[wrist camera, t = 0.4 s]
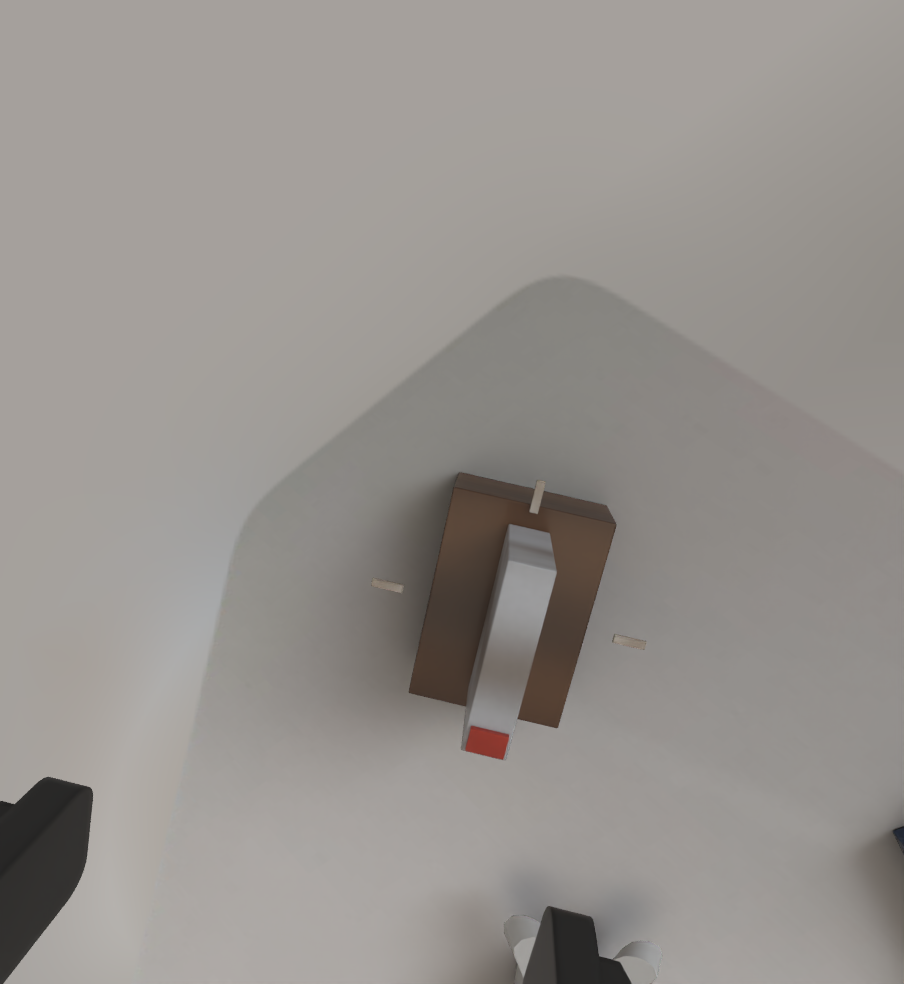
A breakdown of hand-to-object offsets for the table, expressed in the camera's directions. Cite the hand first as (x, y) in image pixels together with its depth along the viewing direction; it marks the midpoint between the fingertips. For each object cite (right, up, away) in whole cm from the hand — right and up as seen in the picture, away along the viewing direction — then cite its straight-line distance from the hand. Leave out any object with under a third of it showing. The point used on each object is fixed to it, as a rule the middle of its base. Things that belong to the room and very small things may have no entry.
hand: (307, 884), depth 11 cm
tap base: (+5, +2, +21) cm, 21 cm away
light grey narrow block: (+5, +1, +18) cm, 18 cm away
